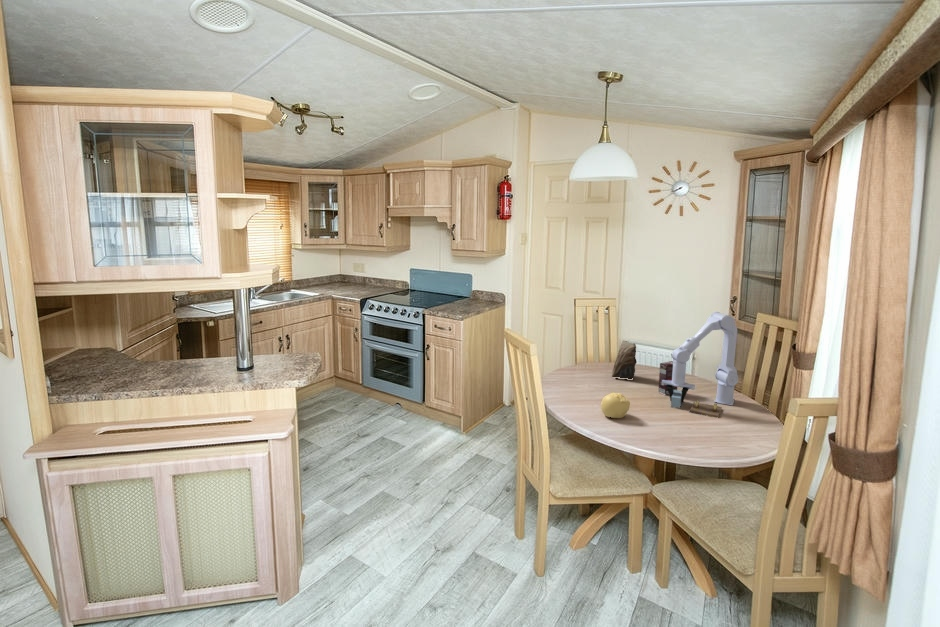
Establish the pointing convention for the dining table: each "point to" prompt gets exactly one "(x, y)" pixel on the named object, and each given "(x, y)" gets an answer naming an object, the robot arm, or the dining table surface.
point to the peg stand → (705, 409)
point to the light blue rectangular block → (676, 399)
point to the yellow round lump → (615, 405)
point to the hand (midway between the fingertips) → (676, 401)
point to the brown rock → (625, 361)
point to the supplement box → (665, 376)
